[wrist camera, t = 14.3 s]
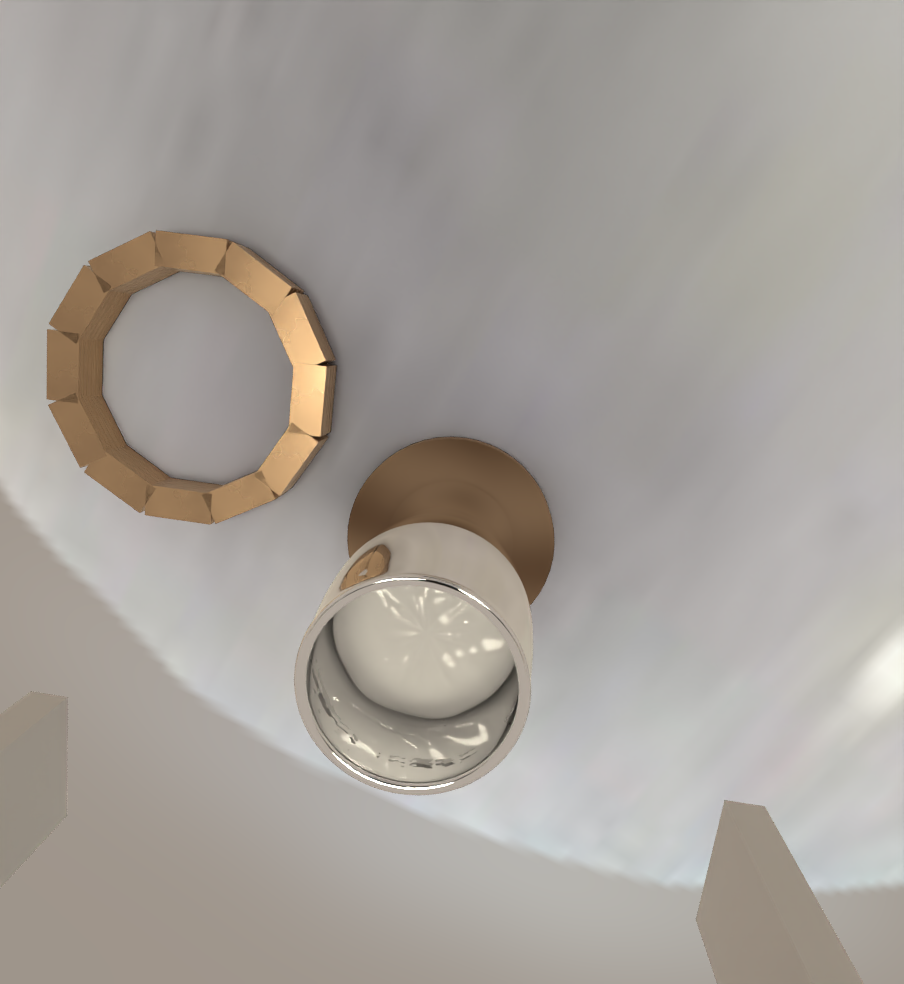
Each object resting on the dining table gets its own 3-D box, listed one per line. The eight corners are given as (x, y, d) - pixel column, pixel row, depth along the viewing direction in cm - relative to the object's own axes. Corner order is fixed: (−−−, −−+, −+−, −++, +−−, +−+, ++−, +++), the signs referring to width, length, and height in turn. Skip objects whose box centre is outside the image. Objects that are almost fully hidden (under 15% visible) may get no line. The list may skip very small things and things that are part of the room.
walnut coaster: (362, 423, 34) (358, 425, 33) (568, 451, 34) (569, 454, 33) (342, 616, 36) (338, 624, 35) (536, 645, 36) (537, 653, 35)
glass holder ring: (75, 224, 33) (48, 216, 31) (346, 258, 32) (336, 253, 31) (70, 492, 36) (45, 500, 34) (321, 528, 35) (311, 538, 33)
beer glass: (356, 573, 34) (248, 739, 20) (414, 446, 33) (344, 524, 18) (484, 633, 35) (471, 842, 20) (547, 509, 33) (584, 636, 19)
